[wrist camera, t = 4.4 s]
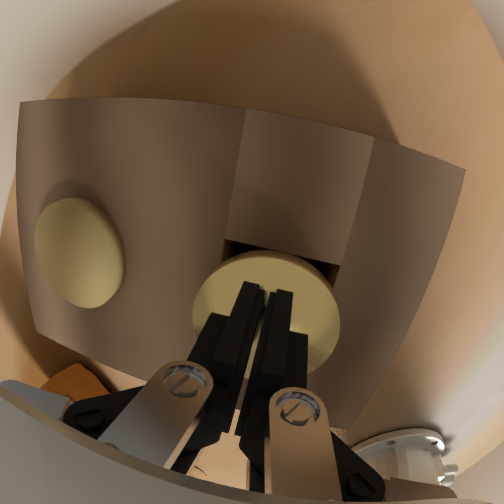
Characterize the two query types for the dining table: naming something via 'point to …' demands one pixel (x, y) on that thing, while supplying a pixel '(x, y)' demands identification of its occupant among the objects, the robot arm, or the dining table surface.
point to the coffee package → (75, 384)
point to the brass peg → (270, 279)
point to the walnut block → (220, 227)
